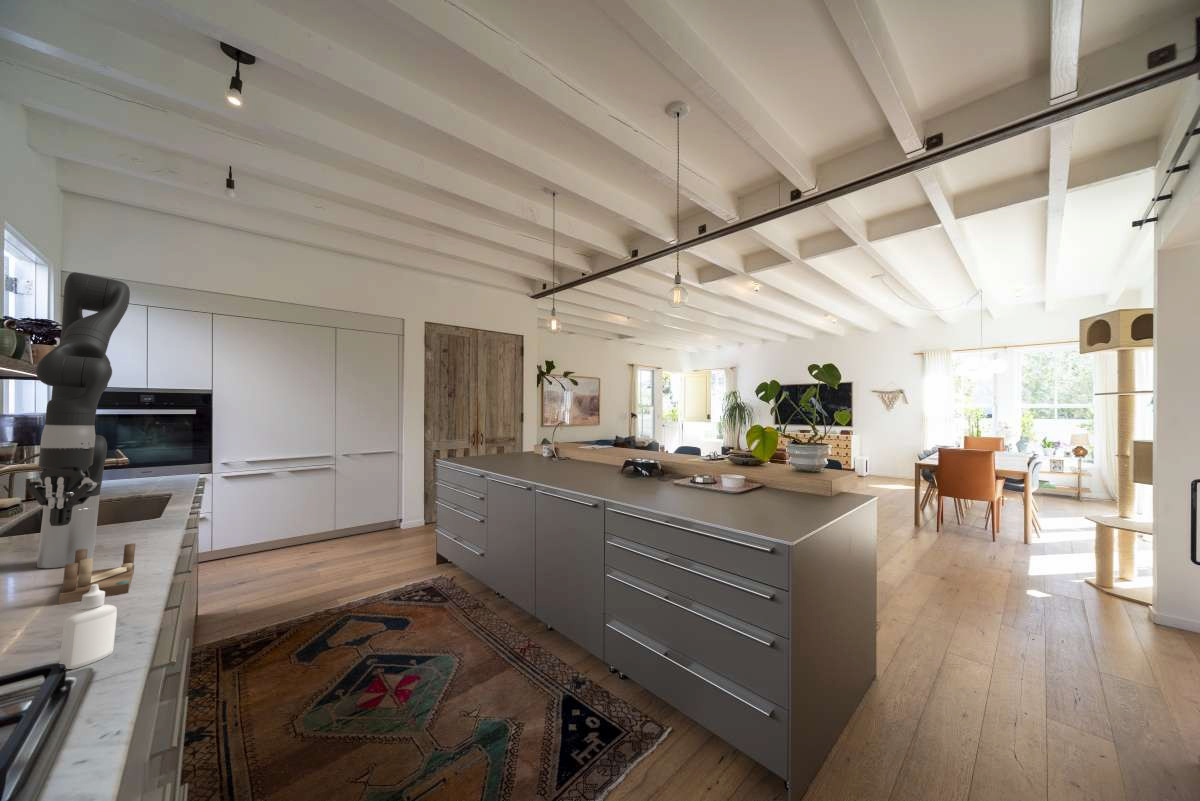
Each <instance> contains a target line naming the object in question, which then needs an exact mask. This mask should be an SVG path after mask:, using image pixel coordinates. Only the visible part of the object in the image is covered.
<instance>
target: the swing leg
mask: <svg viewBox="0 0 1200 801" xmlns="http://www.w3.org/2000/svg"><path fill="white" fill-rule="evenodd" d="M93 562H94V558H93V559H92V558H90V559H83V560H80V567H79V577H78V586H83V585H88V584H90V583H92V582H95V581H98V580H101V579H104V578H107V577H110V576H113V575H116V574H119V573H122V572H125V571H130V570H132V566H133V565H134V564H133V563H126V564H123V563H122V564H121V566H119V568H117V567H115V568H116V569H113V570H110V571H107V572H103V573H100V574H97V575H94V576H91V574H92V571H93Z"/></svg>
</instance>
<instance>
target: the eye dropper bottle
mask: <svg viewBox="0 0 1200 801" xmlns="http://www.w3.org/2000/svg"><path fill="white" fill-rule="evenodd" d="M105 598H106V597H105V591H101V590H99V586H98V584H94V585H91V588H90V591H89V592H88V593H86V594H84V595H83V596H82V601H80V602H81V603H80V604H81V605H80V610H78V611H76V612H74V613H72V614H71V615H69V616H68V617H67V618H66V619H65V620H64V622H63V628H62V634H61V635H62V638H61V644H60V645H61V646H60V653H59V663H58V664H65V665H66V668H67V669H72V670H75V669H79V668H82V667H85V666H88V665H91V664H93V663H94V664H95V663H96V662H99V661H101V660H103V659H105V658H106V657H109V656H110V655H111V654H112V653H113V652H114V646H115V640H116V639H115V638H116V637H115V636H116V626H117V618H118V617H117V616H118V615H117V614H118V609H117V606H115V605H112V604H105Z"/></svg>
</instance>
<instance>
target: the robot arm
mask: <svg viewBox="0 0 1200 801" xmlns="http://www.w3.org/2000/svg"><path fill="white" fill-rule="evenodd" d="M130 298H131V292H130V286H128V284H127V283H125V282H123V281H120V280H116V279H113V278H106V277H102V276H98V275H97V276H96V275H92V274H88V273H83V272H76V271H74V272H71V273H70V274H68V275H67V277H66V280H65V283H64V290H63V301H62V321H61V331H60V336H59V337H60V338H59V343H58V344H57V345H56V347H54V348H53V349H52V350H50V351H49V352H47V353H46V354H45V355H44V356H43V357H42V358H41V359H40V360H39V362H38V363H37V365H36V370H35V373H36V374H35V375H36V377H37V378H38V380H39V381H40V382H41V383H43V385H47V386H50V387H52V388H51V400H49V401H48V402H47V404H46V408H45V410H46V411H45V419H44V420H45V421H44V427H43V429H42V433H41V437H40V438H41V439H40V448H39V457H38V468H40V469H42V472H41V473H40V474H39V478H38V479H36V480H35V481H29V482H27V483H26V484H25V485H26V488H27V489H28V491H30V493H31V494H32V496H33V497H34V498H35V500H36V502H38V504H39V505H40V506H43V509H42V518H41V525H40V526H41V527H40V534H39V542H38V544H39V546H38V552H37V559H36V560H37V562H36V567H37V568H38V569H56V568H65V565H67V564H71V563H74V562H75V553H76V550H80V549H88V552H87V559H90V558H92V559H93V560H94V553H95V544H96V536H97V525H98V516H99V506H100V498H101V497H100V494H101V489H102V484H103V483H102V482H103V478H104V477H103V476H104V468H105V463H106V459H107V455H108V454H107V452H108V442H107V439H106V438H105V436H103V435H99V434H96V428H95V427H96V416H97V415H96V414H97V408H98V405H99V402H100V399H101V397H102V394H103V393H104V392H105V391H106V389H107V388H108V384H109V381H110V380H111V378H112V376H113V369H112V365H111V362H110V359H109V357H108V355H107V354H106V353H107V350H108V347H109V343H110V340H111V338H112V335H113V333H114V331H115V330H116V328H118V325H119V324H120V322H121V320H122V319H123V317H124V315H125V314H126V312H127V310H128V307H129V305H130V304H129V303H130ZM83 310H84V311H89V312H95V313H91V314H89V315H87V316H85V317H84V315H83Z"/></svg>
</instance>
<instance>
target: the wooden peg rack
mask: <svg viewBox="0 0 1200 801" xmlns="http://www.w3.org/2000/svg"><path fill="white" fill-rule="evenodd" d="M123 548H124V549H123V550H124V551H123V558H122V564H126V563H133V566H132V570H130V571H125V572H122V573H119V574H116V575H113V576H110V577H107V578H104V579H101V580H98V581H95V582H92V583H90V584H88V585H83V586H78V577H79V567H80V560H83V559H87V552H88V549H80V550H76V553H75V562H74V563H71V564H67V565H65V567H64V571H63V572H64V573H63V581H62V590H61V592H60V593H59V600H58V605H62V604H69V603H75V602H82V596H83V595H84V594H86V593H88V592H89V591H90V588H91V585H94V584H98V586H99V590H101V591H105V598H106V597H111V596H117V595H124V594H129V590H130V587H131V583H132V579H133V576H134V572H135V564H134V563H135V553H136V552H135V551H136V543H127V544H125V545H124V547H123ZM119 567H120V566H119ZM119 567H110V568H109V567H108V568H104V569H96V570H92V574H91V576H94V575H97V574H100V573H103V572H107V571H110V570H113V569H116V568H119Z"/></svg>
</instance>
